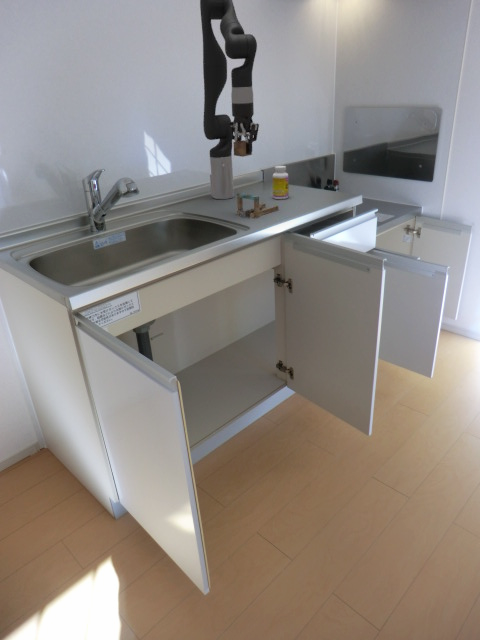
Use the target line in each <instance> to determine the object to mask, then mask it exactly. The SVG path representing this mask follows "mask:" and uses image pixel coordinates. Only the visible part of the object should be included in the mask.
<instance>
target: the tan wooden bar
mask: <svg viewBox="0 0 480 640" xmlns="http://www.w3.org/2000/svg"><path fill="white" fill-rule="evenodd" d="M259 210H263V208H262V206H259ZM253 212H254V205H253V206H249V207H245V208H243V209H241V210H240V215H239V216H240V218H245V219H246V218H250V213H253Z"/></svg>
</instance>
